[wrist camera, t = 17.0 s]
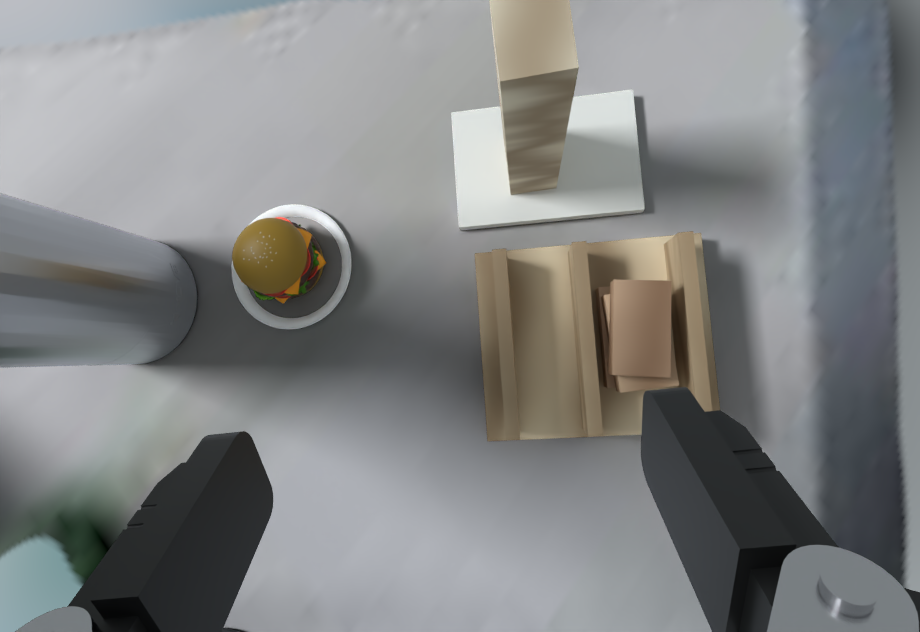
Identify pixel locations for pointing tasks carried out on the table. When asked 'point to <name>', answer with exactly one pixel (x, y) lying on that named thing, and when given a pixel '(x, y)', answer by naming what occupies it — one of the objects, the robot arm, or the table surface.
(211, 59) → the table surface
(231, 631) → the milk frother
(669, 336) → the offcut stack
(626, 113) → the white mat
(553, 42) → the tall birch block
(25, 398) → the table surface
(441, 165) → the table surface
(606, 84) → the table surface
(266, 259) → the hamburger
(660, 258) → the pine rack
